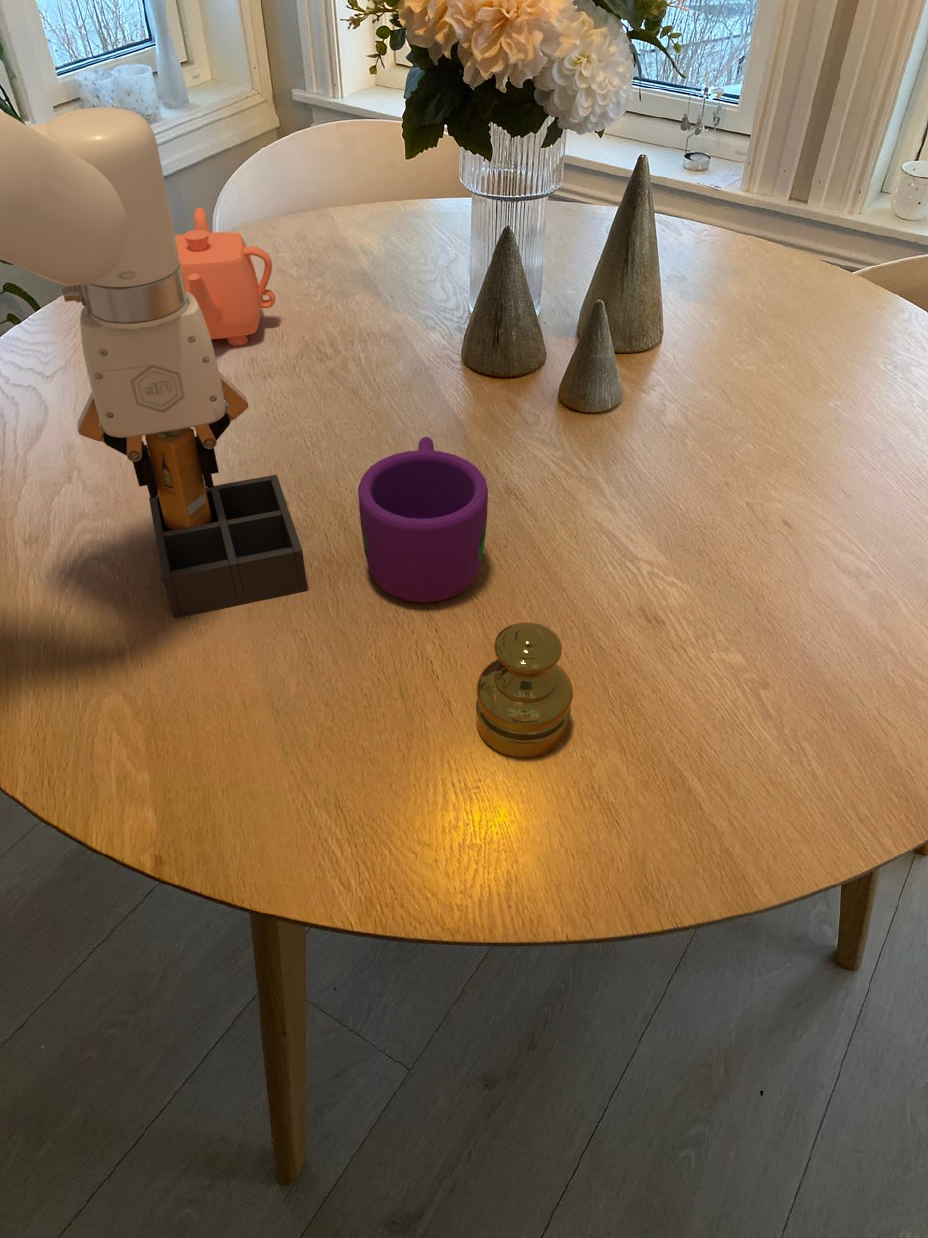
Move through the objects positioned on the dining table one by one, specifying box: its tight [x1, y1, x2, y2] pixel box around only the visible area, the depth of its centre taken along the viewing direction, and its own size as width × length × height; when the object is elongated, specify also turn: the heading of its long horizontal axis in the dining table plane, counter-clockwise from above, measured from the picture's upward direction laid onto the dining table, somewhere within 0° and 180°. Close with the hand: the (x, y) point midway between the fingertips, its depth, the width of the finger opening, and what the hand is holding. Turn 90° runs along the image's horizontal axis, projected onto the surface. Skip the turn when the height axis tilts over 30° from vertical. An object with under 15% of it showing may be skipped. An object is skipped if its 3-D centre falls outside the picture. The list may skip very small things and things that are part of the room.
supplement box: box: [144, 427, 212, 530], centre depth 86 cm, size 3×3×10 cm
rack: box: [148, 474, 308, 619], centre depth 89 cm, size 12×12×5 cm
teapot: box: [175, 207, 276, 347], centre depth 119 cm, size 15×17×13 cm
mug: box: [357, 436, 489, 603], centre depth 89 cm, size 17×11×10 cm, turn 0°
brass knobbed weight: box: [475, 621, 574, 758], centre depth 73 cm, size 7×7×10 cm
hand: (180, 482), depth 86 cm, fingers closed on supplement box, 4 cm apart
